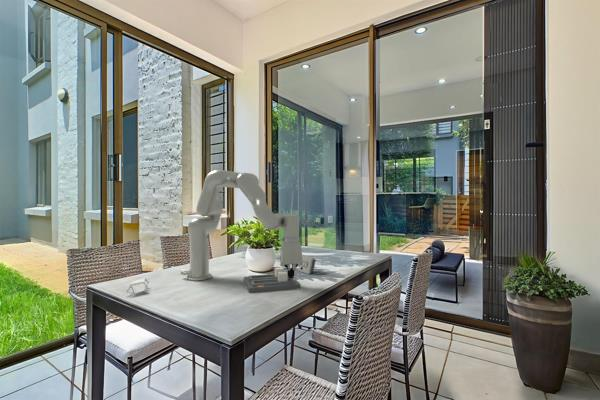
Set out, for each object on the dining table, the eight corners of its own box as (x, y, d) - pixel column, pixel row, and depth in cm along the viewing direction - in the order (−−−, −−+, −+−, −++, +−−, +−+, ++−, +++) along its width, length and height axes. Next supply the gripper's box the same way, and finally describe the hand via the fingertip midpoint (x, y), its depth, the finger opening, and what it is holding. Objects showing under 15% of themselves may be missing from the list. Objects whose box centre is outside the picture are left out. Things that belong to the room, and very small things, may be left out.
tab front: (279, 283, 146) (279, 273, 146) (277, 281, 149) (277, 272, 149) (287, 282, 147) (287, 273, 147) (285, 280, 150) (285, 271, 150)
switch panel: (248, 292, 138) (248, 286, 138) (244, 280, 157) (244, 274, 157) (300, 288, 145) (300, 282, 145) (289, 277, 164) (289, 271, 164)
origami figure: (145, 295, 134) (145, 284, 134) (125, 296, 133) (125, 284, 133) (155, 287, 146) (154, 276, 146) (136, 287, 145) (136, 277, 145)
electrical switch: (297, 271, 176) (299, 255, 177) (304, 270, 180) (305, 254, 180) (309, 274, 169) (310, 257, 170) (315, 274, 173) (317, 257, 173)
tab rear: (276, 278, 154) (276, 269, 154) (274, 276, 158) (274, 267, 158) (283, 277, 155) (283, 268, 155) (282, 275, 159) (282, 267, 159)
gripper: (277, 241, 143) (277, 281, 143) (308, 240, 147) (308, 278, 148) (274, 239, 150) (274, 277, 150) (303, 238, 154) (303, 274, 155)
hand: (290, 277), depth 149 cm, fingers closed
